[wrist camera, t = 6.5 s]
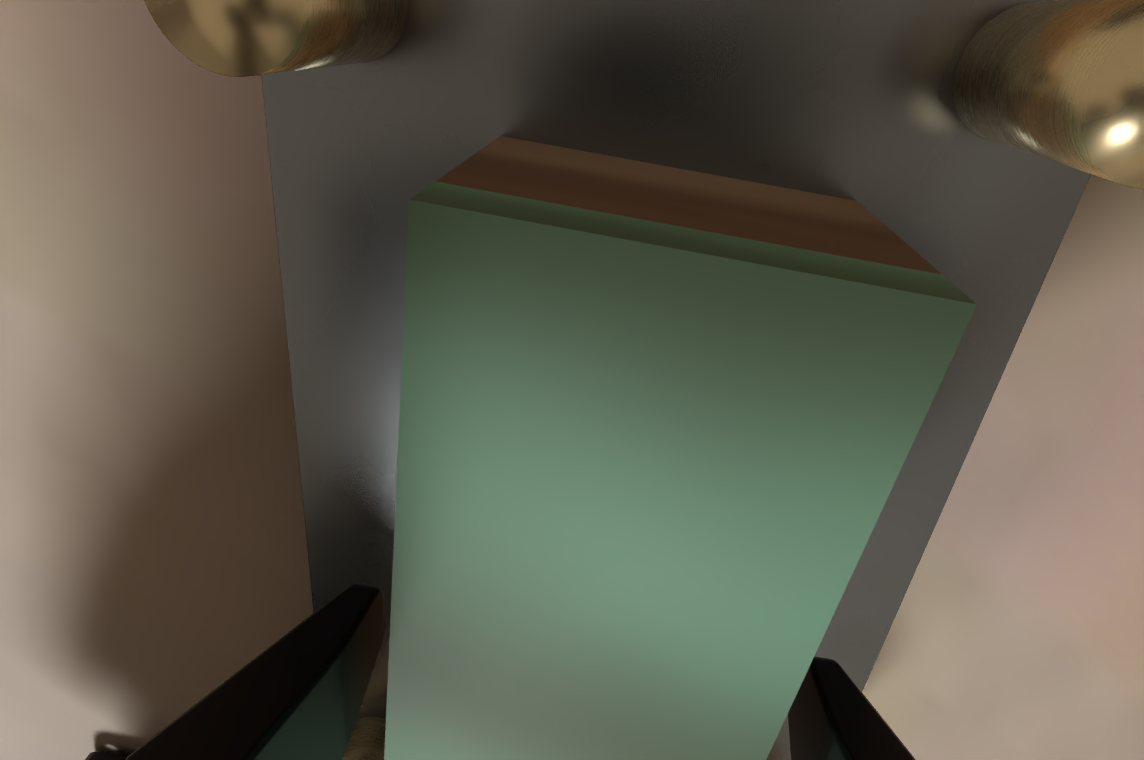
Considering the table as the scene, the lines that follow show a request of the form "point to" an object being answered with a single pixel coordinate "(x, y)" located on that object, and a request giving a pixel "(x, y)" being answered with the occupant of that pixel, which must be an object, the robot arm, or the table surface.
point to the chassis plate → (675, 139)
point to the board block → (639, 451)
